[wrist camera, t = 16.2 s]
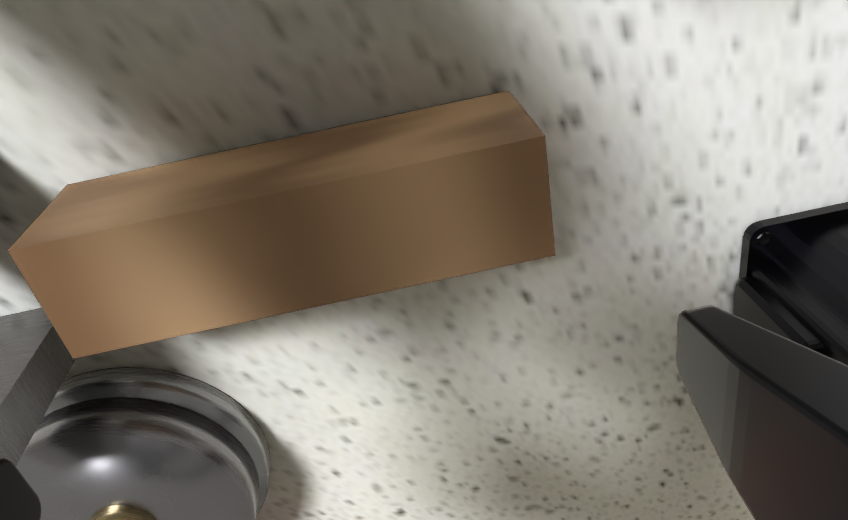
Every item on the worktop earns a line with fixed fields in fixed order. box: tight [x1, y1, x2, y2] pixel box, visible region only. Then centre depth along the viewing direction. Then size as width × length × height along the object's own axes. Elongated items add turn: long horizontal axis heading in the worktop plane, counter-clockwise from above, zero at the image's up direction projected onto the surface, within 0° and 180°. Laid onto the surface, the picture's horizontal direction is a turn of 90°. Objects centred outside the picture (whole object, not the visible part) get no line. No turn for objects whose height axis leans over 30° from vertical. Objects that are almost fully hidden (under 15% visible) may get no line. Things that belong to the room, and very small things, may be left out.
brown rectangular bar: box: [8, 91, 555, 359], centre depth 18 cm, size 14×4×4 cm, turn 100°
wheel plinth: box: [44, 368, 270, 516], centre depth 25 cm, size 10×10×1 cm
